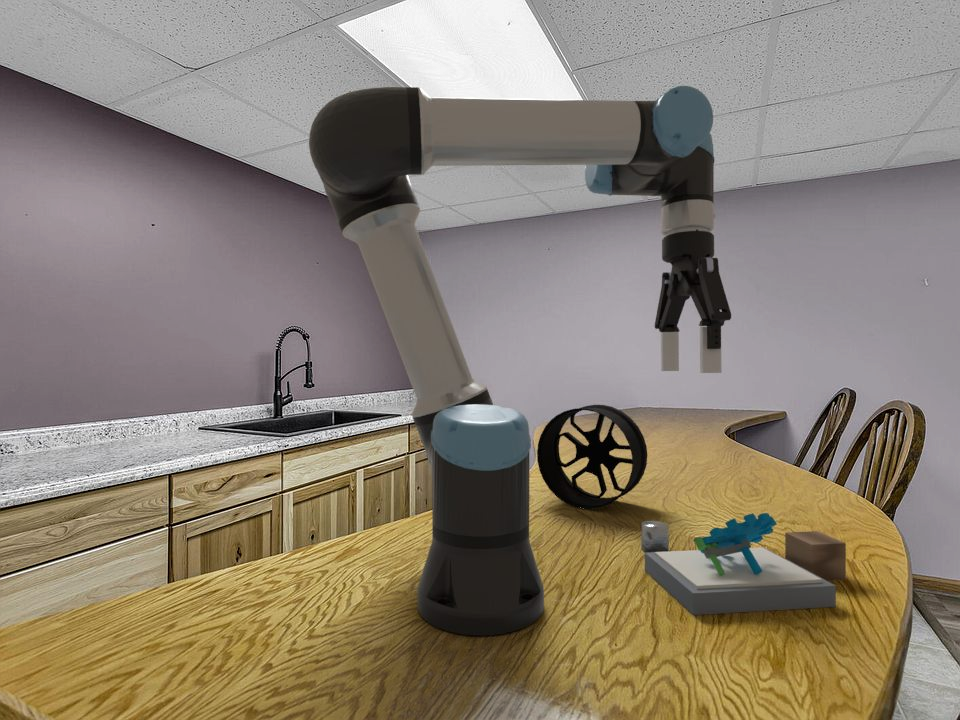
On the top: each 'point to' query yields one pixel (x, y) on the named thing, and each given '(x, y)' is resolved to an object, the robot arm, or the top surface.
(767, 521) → the gear
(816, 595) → the stand
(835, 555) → the walnut block
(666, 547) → the steel cylinder
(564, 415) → the car wheel rim
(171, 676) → the top surface
